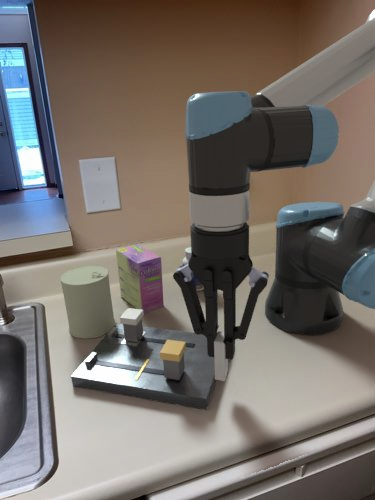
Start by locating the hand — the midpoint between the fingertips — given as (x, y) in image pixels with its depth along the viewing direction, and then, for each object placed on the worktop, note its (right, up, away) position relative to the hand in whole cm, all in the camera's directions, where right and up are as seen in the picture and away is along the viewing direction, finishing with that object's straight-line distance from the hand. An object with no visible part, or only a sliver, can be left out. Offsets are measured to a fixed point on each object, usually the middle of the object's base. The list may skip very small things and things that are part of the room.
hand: (221, 374), depth 57 cm
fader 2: (-7, -1, +3) cm, 7 cm away
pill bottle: (-3, +9, +35) cm, 37 cm away
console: (-11, -1, +8) cm, 13 cm away
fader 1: (-15, +3, +13) cm, 20 cm away
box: (-15, +7, +30) cm, 34 cm away
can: (-24, +3, +21) cm, 32 cm away
